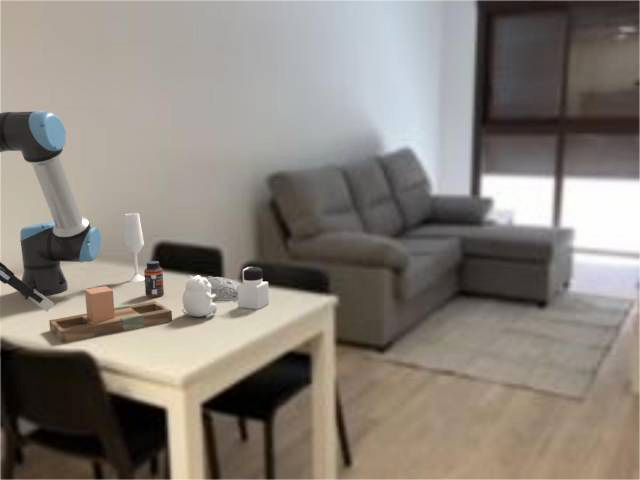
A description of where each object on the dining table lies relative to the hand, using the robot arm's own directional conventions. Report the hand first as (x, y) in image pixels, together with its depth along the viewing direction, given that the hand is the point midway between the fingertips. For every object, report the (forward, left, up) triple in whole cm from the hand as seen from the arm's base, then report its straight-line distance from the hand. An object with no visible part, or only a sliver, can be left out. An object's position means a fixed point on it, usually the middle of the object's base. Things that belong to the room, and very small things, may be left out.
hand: (50, 307), depth 186 cm
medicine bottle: (+7, +58, -9) cm, 60 cm away
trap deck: (0, +16, -9) cm, 19 cm away
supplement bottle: (-24, +38, -9) cm, 46 cm away
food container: (-12, +56, -9) cm, 58 cm away
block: (0, +13, -6) cm, 15 cm away
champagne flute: (-49, +41, -9) cm, 65 cm away
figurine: (+6, +40, -9) cm, 42 cm away
